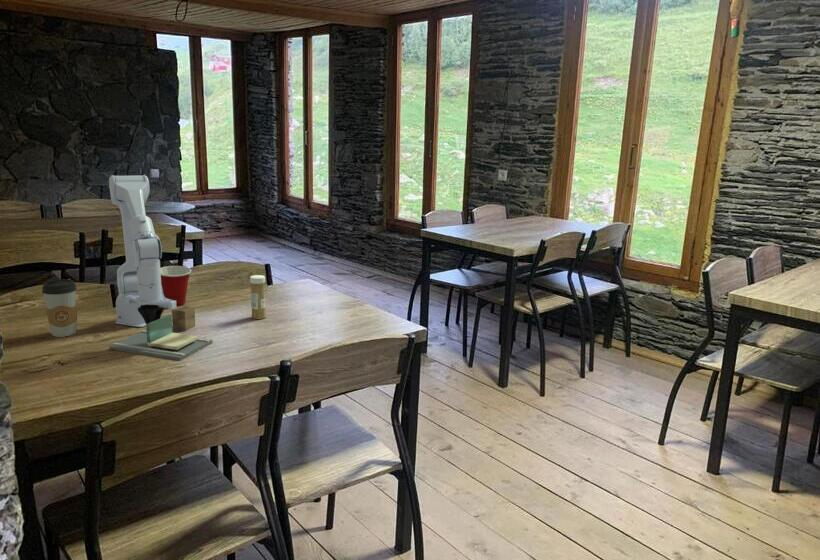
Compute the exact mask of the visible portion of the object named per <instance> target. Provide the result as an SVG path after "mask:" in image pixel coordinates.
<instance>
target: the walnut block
mask: <svg viewBox="0 0 820 560" xmlns="http://www.w3.org/2000/svg"><path fill="white" fill-rule="evenodd" d="M195 313H196V311H195V306H187V305H186V306H185V305H181V306H177V307H176V308H174V309H171V316H172V330H177V331H182V332H183V331H184V332H187V331H189V330H191V329H194V328H196V314H195Z"/></svg>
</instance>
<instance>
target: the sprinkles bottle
mask: <svg viewBox="0 0 820 560" xmlns="http://www.w3.org/2000/svg"><path fill="white" fill-rule="evenodd" d="M249 283H250V306H251V307H250V308H251V318H252V319H253V320H262V319H265V318H266V316H267V314H266V289H265V287H266V286H265V285H266V284H265V283H266V277H265V275H262V274H261V275H260V274H255V275H250V277H249Z"/></svg>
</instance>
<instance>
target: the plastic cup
mask: <svg viewBox="0 0 820 560" xmlns="http://www.w3.org/2000/svg"><path fill="white" fill-rule="evenodd" d="M160 272H161V287H162V295H163V297H164V298H167V299H170V300H175V301H176V306H177V307H179V306H185V304H186V301H187V300H186V298H187V294H188V286H189V285H188V284H189V279H190V274H191V273H192V269H191V268H190V267H187V266H181V265H168V266H163V267H160Z"/></svg>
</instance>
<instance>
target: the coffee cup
mask: <svg viewBox="0 0 820 560" xmlns="http://www.w3.org/2000/svg"><path fill="white" fill-rule="evenodd" d="M41 289H42V291H41V292H42V293H43V294H42V295H43V299H44V302H45V303H44V304H45V309H46V311H45V312H46V316H47V320H48V325H49V330H50V334H51V336H52V337H54V336H55V337H54V338H66V337H65V336H68V337H70V335H71V336H74V335H75V334H76V333H77V331H78V324H77V323H78V308H77V307H78V306H77V305H78V304H77V285H76V283H75V282H74V280H73V279H67V278H65V279H64V278H62V279H61V278H60V279H52V280H48V281H45V282H43V286H42V288H41ZM73 334H74V335H73Z"/></svg>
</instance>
